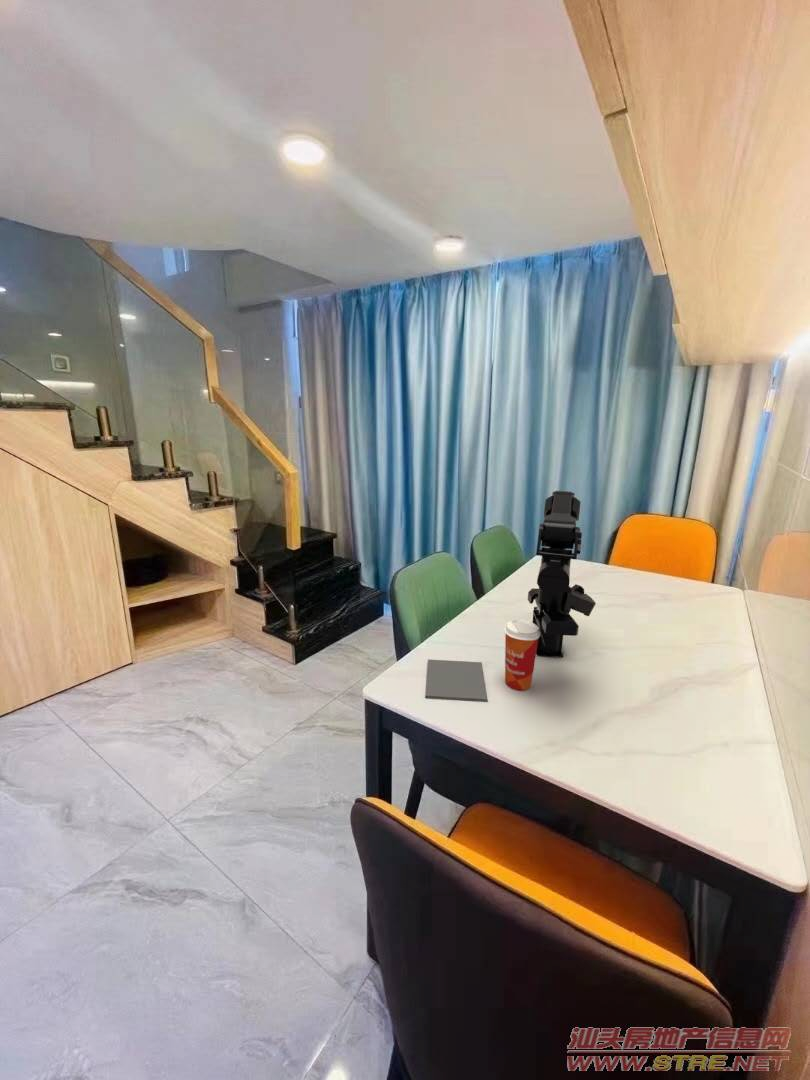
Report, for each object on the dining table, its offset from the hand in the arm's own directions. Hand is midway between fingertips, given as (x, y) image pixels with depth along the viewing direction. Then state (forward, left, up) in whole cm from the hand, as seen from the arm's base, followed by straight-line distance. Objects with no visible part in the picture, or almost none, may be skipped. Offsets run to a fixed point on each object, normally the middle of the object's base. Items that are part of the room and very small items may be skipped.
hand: (547, 646), depth 96 cm
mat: (+20, 0, -10) cm, 22 cm away
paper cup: (+6, 0, -10) cm, 11 cm away
